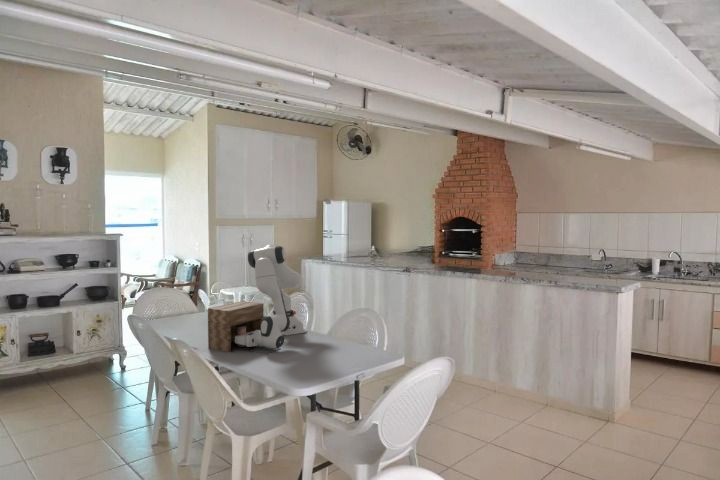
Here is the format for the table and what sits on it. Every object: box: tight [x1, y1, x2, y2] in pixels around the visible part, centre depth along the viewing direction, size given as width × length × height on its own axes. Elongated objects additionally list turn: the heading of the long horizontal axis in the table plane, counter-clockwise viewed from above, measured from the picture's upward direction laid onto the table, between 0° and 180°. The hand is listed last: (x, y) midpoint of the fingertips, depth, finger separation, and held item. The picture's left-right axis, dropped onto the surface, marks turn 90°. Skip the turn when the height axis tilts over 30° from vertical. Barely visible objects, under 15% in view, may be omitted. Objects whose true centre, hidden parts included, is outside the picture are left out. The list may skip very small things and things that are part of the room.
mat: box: [249, 346, 282, 355], centre depth 286 cm, size 12×12×1 cm
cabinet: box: [207, 300, 265, 353], centre depth 296 cm, size 16×28×22 cm, turn 149°
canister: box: [236, 325, 247, 347], centre depth 295 cm, size 5×5×11 cm
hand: (240, 334), depth 295 cm, fingers closed on canister, 5 cm apart
